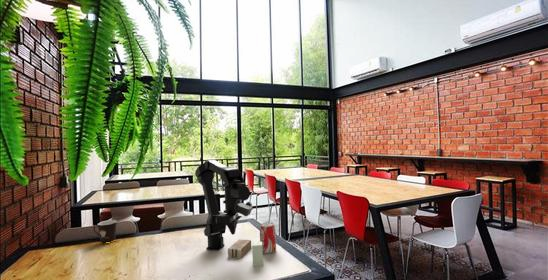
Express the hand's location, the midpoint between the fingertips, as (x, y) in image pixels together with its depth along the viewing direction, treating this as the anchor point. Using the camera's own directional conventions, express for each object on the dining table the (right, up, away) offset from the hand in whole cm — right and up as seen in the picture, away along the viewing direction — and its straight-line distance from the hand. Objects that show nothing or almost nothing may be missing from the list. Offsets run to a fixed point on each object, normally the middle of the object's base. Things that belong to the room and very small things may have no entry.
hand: (233, 234), depth 121 cm
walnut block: (0, -8, 0) cm, 8 cm away
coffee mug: (-71, -14, +29) cm, 78 cm away
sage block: (+11, -10, -7) cm, 16 cm away
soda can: (+15, -10, +6) cm, 19 cm away
